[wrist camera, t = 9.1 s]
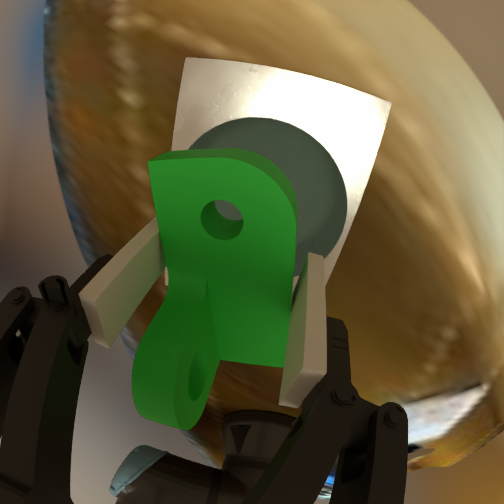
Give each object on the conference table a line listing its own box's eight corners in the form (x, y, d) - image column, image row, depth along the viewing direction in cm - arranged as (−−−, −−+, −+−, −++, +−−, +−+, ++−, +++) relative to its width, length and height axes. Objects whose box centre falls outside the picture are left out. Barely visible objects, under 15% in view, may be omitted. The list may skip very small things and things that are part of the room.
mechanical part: (287, 343, 17) (270, 458, 10) (199, 332, 18) (157, 434, 11) (300, 149, 11) (293, 241, 4) (168, 151, 12) (36, 228, 5)
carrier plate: (307, 316, 26) (306, 326, 24) (169, 277, 26) (164, 286, 25) (386, 103, 15) (392, 103, 14) (192, 59, 16) (184, 57, 14)
